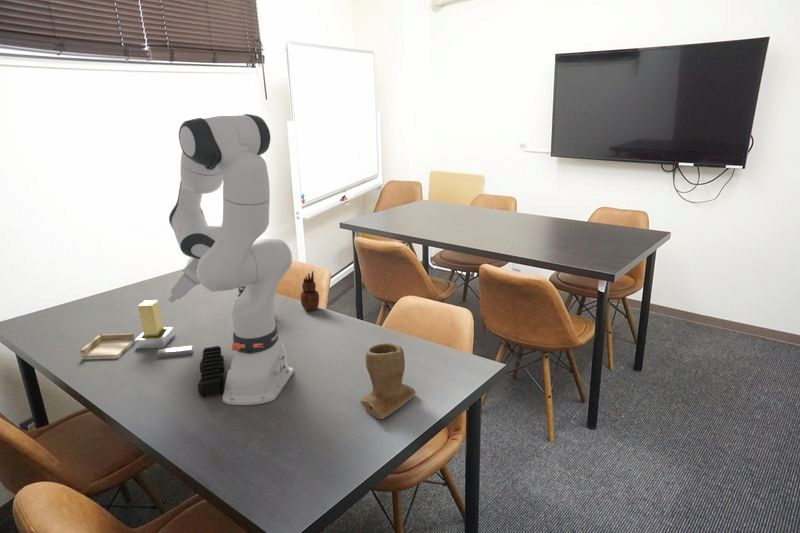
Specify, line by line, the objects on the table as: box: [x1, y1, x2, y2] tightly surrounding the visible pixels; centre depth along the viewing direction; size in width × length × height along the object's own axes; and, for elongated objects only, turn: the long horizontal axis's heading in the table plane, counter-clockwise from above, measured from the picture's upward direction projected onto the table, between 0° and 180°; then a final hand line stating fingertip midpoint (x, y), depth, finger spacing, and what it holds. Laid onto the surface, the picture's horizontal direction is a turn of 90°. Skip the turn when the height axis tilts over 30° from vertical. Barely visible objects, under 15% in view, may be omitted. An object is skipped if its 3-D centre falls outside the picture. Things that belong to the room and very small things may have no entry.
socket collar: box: [134, 326, 176, 349], centre depth 161 cm, size 9×9×3 cm
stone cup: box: [360, 342, 416, 420], centre depth 124 cm, size 15×12×15 cm
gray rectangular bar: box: [156, 345, 194, 359], centre depth 153 cm, size 10×2×2 cm, turn 101°
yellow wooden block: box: [137, 299, 165, 338], centre depth 159 cm, size 4×4×14 cm
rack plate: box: [80, 332, 136, 360], centre depth 155 cm, size 11×11×3 cm
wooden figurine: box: [300, 270, 320, 312], centre depth 182 cm, size 7×6×15 cm
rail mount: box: [197, 345, 225, 398], centre depth 138 cm, size 21×6×5 cm, turn 19°
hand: (177, 294), depth 156 cm, fingers open, 8 cm apart
